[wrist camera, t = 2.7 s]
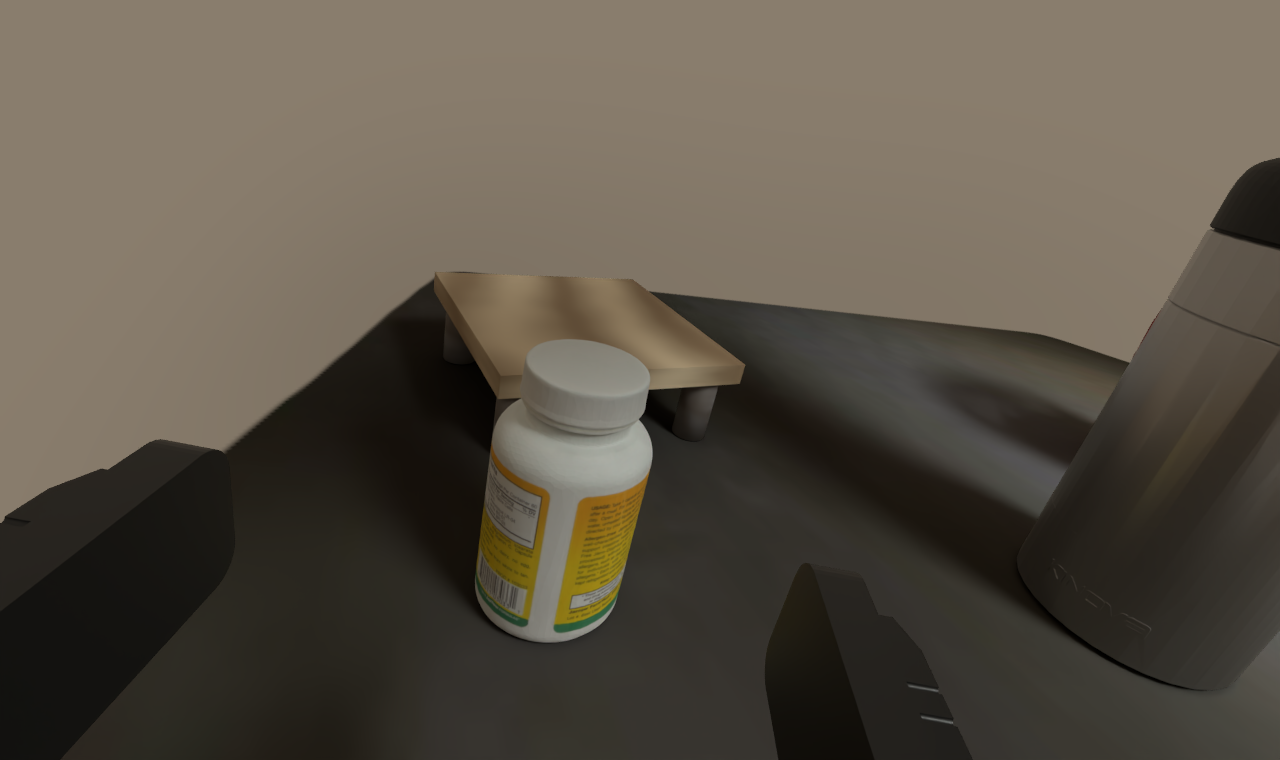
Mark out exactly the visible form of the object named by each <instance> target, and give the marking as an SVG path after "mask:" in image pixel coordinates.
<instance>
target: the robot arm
mask: <svg viewBox="0 0 1280 760" xmlns="http://www.w3.org/2000/svg"><path fill="white" fill-rule="evenodd" d="M1210 226H1211V227H1212V228H1215V229H1214V230H1212V229H1210V230H1208V231H1207V232H1206V234H1205V235H1204V237H1203V239H1202V240H1201V242H1200V244H1199V245H1198V247H1197V249H1196V251H1195V252H1194V254H1193V256H1192V257H1191V259H1190V261H1189V263H1188V264H1187V266H1186V268H1185V269H1184V271H1183V273H1182V274H1181V276H1180V278H1179V280H1178V281H1177V283H1176V285H1175V286H1174V288H1173V290H1172V292H1171V293H1170V295H1169V297H1168V299H1167V301H1166V302H1165V304H1164V306H1163V308H1162V309H1161V311H1160V313H1159V314H1158V316H1157V318H1156V319H1155V321H1154V323H1153V325H1152V326H1151V328H1150V330H1149V331H1148V333H1147V335H1146V336H1145V338H1144V340H1143V342H1142V343H1141V345H1140V347H1139V348H1138V350H1137V352H1136V353H1135V355H1134V357H1133V358H1132V360H1131V362H1130V364H1129V365H1128V367H1127V369H1126V370H1125V372H1124V374H1123V375H1122V377H1121V379H1120V381H1119V382H1118V384H1117V386H1116V387H1115V389H1114V391H1113V392H1112V394H1111V396H1110V398H1109V399H1108V401H1107V403H1106V404H1105V406H1104V408H1103V409H1102V411H1101V413H1100V414H1099V416H1098V418H1097V420H1096V421H1095V423H1094V425H1093V426H1092V428H1091V430H1090V431H1089V433H1088V435H1087V437H1086V438H1085V440H1084V442H1083V443H1082V445H1081V447H1080V448H1079V450H1078V452H1077V454H1076V455H1075V457H1074V459H1073V460H1072V462H1071V464H1070V465H1069V467H1068V469H1067V470H1066V472H1065V474H1064V476H1063V477H1062V479H1061V481H1060V482H1059V484H1058V486H1057V487H1056V489H1055V490H1054V492H1053V494H1052V495H1051V497H1050V499H1049V501H1048V502H1047V504H1046V506H1045V507H1044V509H1043V511H1042V512H1041V514H1040V516H1039V518H1038V519H1037V521H1036V523H1035V524H1034V526H1033V528H1032V530H1031V531H1030V533H1029V535H1028V536H1027V538H1026V540H1025V541H1024V543H1023V545H1022V547H1021V548H1020V550H1019V553H1018V556H1017V566H1018V570H1019V573H1020V575H1021V577H1022V579H1023V581H1024V583H1025V584H1026V586H1027V587H1028V588H1029V590H1030V591H1031V593H1032V594H1033V595H1034V597H1035V598H1036V599H1037V600H1038V601H1039V602H1040V603H1041V604H1042V605H1043V606H1044V607H1045V608H1046V609H1047V610H1048V611H1049V613H1051V614H1052V615H1053V616H1054V617H1055V618H1056V619H1058V620H1059V621H1060V622H1061V623H1062V624H1063V625H1065V626H1066V627H1067V628H1068V629H1069V630H1071V631H1072V632H1074V633H1075V634H1076V635H1078V636H1079V637H1081V638H1082V639H1083V640H1085V641H1086V642H1088V643H1089V644H1090V645H1092V646H1093V647H1095V648H1097V649H1098V650H1100V651H1102V652H1103V653H1105V654H1107V655H1108V656H1110V657H1112V658H1113V659H1115V660H1117V661H1119V662H1121V663H1123V664H1125V665H1127V666H1129V667H1131V668H1133V669H1135V670H1137V671H1139V672H1141V673H1143V674H1146V675H1149V676H1151V677H1154V678H1157V679H1159V680H1162V681H1164V682H1167V683H1170V684H1174V685H1178V686H1182V687H1186V688H1190V689H1198V690H1210V691H1213V690H1218V689H1223V688H1227V687H1228V686H1230V685H1231V684H1232V683H1233V682H1235V681H1236V680H1237V679H1238V677H1239V676H1240V675H1241V674H1242V673H1243V672H1244V671H1245V669H1246V668H1247V667H1248V666H1249V665H1250V664H1251V663H1252V661H1253V660H1254V659H1255V658H1256V657H1257V656H1258V655H1259V653H1260V652H1261V651H1262V650H1263V649H1264V648H1265V647H1266V645H1267V644H1268V643H1269V642H1270V641H1271V640H1272V639H1273V638H1274V636H1275V635H1276V634H1277V633H1278V632H1279V631H1280V158H1276V159H1272V160H1268V161H1264V162H1261V163H1259V164H1256V165H1255V166H1253V167H1251V168H1250V169H1248V170H1247V171H1246V172H1245V173H1244V174H1243V175H1242V176H1241V177H1240V178H1239V180H1237V182H1236V183H1235V185H1234V186H1233V188H1232V189H1231V191H1230V192H1229V194H1228V195H1227V197H1226V199H1225V200H1224V202H1223V204H1222V205H1221V207H1220V209H1219V211H1218V212H1217V214H1216V216H1215V217H1214V219H1213V221H1212V223H1211V224H1210ZM234 548H235V532H234V519H233V506H232V493H231V480H230V468H229V462H228V459H227V457H226V455H225V454H224V453H223V452H222V451H219V450H215V449H210V448H204V447H199V446H193V445H188V444H183V443H178V442H172V441H167V440H161V439H160V440H155V441H152V442H149V443H148V444H146V445H144V446H143V447H141V448H140V449H139V450H137V451H136V452H134V453H132V454H131V455H129V456H128V457H126V458H125V459H123V460H122V461H121V462H119V463H118V464H116V465H114V466H113V467H111V468H110V469H108V470H105V469H99V470H97V471H94V472H91V473H89V474H86V475H84V476H81V477H78V478H76V479H73V480H70V481H68V482H65V483H62V484H60V485H57V486H54V487H52V488H49V489H47V490H46V491H44V492H43V493H41V494H39V495H38V496H36V497H35V498H33V499H32V500H30V501H28V502H27V503H25V504H24V505H22V506H21V507H19V508H17V509H16V510H14V511H13V512H11V513H10V514H8V515H7V516H5V519H4V521H3V522H2V523H0V760H60V759H61V758H62V757H63V756H64V755H65V754H66V752H67V751H68V750H69V749H70V748H71V747H72V746H73V745H74V744H75V743H76V741H77V740H78V739H79V738H80V737H81V736H82V735H83V734H84V733H85V732H86V731H87V729H88V728H89V727H90V726H91V725H92V724H93V723H94V722H95V721H96V720H97V718H98V717H99V716H100V715H101V714H102V713H103V712H104V711H105V710H106V709H107V707H108V706H109V705H110V704H111V703H112V702H113V701H114V700H115V699H116V698H117V696H118V695H119V694H120V693H121V692H122V691H123V690H124V689H125V688H126V687H127V685H128V684H129V683H130V682H131V681H132V680H133V679H134V678H135V677H136V676H137V674H138V673H139V672H140V671H141V670H142V669H143V668H144V667H145V666H146V665H147V664H148V662H149V661H150V660H151V659H152V658H153V657H154V656H155V655H156V654H157V653H158V651H159V650H160V649H161V648H162V647H163V646H164V645H165V644H166V643H167V642H168V640H169V639H170V638H171V637H172V636H173V635H174V634H175V633H176V632H177V631H178V629H179V628H180V627H181V626H182V625H183V624H184V623H185V622H186V621H187V620H188V618H189V617H190V616H191V615H192V614H193V613H194V612H195V611H196V610H197V609H198V607H199V606H200V605H201V604H202V603H203V602H204V601H205V600H206V599H207V598H208V597H209V595H210V594H211V593H212V592H213V591H214V590H215V589H216V588H217V586H218V585H219V584H220V582H221V581H222V579H223V578H224V576H225V574H226V572H227V570H228V568H229V566H230V563H231V560H232V557H233V553H234ZM765 685H766V691H767V697H768V703H769V708H770V714H771V720H772V726H773V731H774V737H775V743H776V748H777V754H778V760H973V759H972V757H971V755H970V753H969V751H968V748H967V746H966V744H965V742H964V740H963V738H962V736H961V734H960V731H959V729H958V727H955V726H953V717H952V714H951V712H950V710H949V708H948V706H947V704H946V702H945V700H944V697H943V695H941V694H939V693H938V688H939V687H938V685H937V682H936V680H935V678H934V676H933V674H932V672H931V670H930V668H929V665H928V663H927V661H926V659H925V657H924V655H923V653H922V651H921V649H920V648H919V647H918V646H917V645H916V644H915V643H914V641H913V640H912V639H911V638H910V637H909V636H908V634H907V633H906V632H905V631H904V630H903V629H902V628H901V626H900V625H899V624H898V623H897V622H896V621H895V620H894V618H893V617H887V616H882V615H878V613H877V610H876V608H875V606H874V603H873V601H872V598H871V596H870V594H869V591H868V589H867V586H866V584H865V582H864V580H863V578H862V577H861V575H860V574H858V573H856V572H851V571H846V570H840V569H835V568H830V567H825V566H819V565H814V564H809V563H804V564H803V565H801V567H800V568H799V569H798V571H797V573H796V575H795V578H794V580H793V583H792V585H791V588H790V590H789V593H788V595H787V598H786V600H785V603H784V605H783V608H782V610H781V613H780V615H779V618H778V620H777V623H776V625H775V628H774V630H773V633H772V635H771V638H770V641H769V644H768V648H767V653H766V661H765Z"/></svg>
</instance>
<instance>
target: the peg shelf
mask: <svg viewBox="0 0 1280 760" xmlns="http://www.w3.org/2000/svg"><path fill="white" fill-rule="evenodd" d="M434 291H435V293H436V295H437V296H438V298H439V300H440V302H441V303H442V305H443V307H444V308H445V310H446V322H445V336H444V351H443V358H444V359H445V360H446V361H447V362H450V363H453V364H460V365H463V364H470V363H472V362H474V361H476V363H477V364H478V366H479V368H480V369H481V371H482V373H483V374H484V376H485V378H486V380H487V381H488V383H489V385H490V386H491V388H492V390H493V391H494V393H495V395H496V396H497V398H496V407H495V416H494V425H493V432H494V428H495V425H496V423H497V421H498V419H499V417H500V416H501V414H502V413H503V412H504V411H505V410H506V409H507V408H508V407H509V406H510V405H511V404H513V403H514V402H516V401H518V400H519V399H521V392H520V384H521V381H522V375H523V369H524V364H525V358H526V355H527V353H528V352H529V351H530V350H531V349H532V348H533V347H535V346H536V345H538V344H541V343H544V342H547V341H552V340H561V339H578V340H588V341H594V342H599V343H603V344H606V345H609V346H613V347H615V348H618V349H621V350H623V351H625V352H627V353H629V354H631V355H633V356H634V357H636V358H637V359H638V360H640V361H641V362H642V363H643V364H644V365H645V367H646V368H647V369H648V371H649V374H650V385H649V390H651V389H667V388H682V390H681V394H680V398H679V402H678V406H677V410H676V414H675V418H674V422H673V426H672V431H673V433H674V434H675V435H676V436H678V437H679V438H682V439H684V440H688V441H700V440H702V439H703V438H704V436H705V432H706V429H707V425H708V421H709V418H710V414H711V411H712V407H713V404H714V400H715V396H716V393H717V389H718V386H719V385H730V384H740V381H741V378H742V374H743V371H744V368H745V364H743V363H742V362H741V361H739V360H738V359H737V358H735V357H734V356H733V355H731V354H730V353H729V352H727V351H726V350H725V349H724V348H722V347H721V346H720V345H718V344H717V343H716V342H714V341H713V340H712V339H710V338H709V337H708V336H706V335H705V334H704V333H702V332H701V331H700V330H699V329H697V328H696V327H695V326H693V325H692V324H691V323H689V322H688V321H687V320H685V319H684V318H683V317H681V316H680V315H679V314H677V313H676V312H675V311H673V310H672V309H671V308H670V307H668V306H667V305H666V304H664V303H663V302H662V301H660V300H659V299H658V298H656V297H655V296H654V295H652V294H651V293H650V292H648V291H647V290H646V289H645V288H643V287H642V286H641V285H639V284H638V283H637V282H635V281H634V280H631V279H605V278H579V277H553V276H552V277H551V276H525V275H500V274H473V273H447V272H435V281H434ZM492 437H493V434H492ZM491 444H492V443H491Z"/></svg>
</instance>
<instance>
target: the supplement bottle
mask: <svg viewBox="0 0 1280 760" xmlns="http://www.w3.org/2000/svg"><path fill="white" fill-rule="evenodd" d="M649 385H650V374H649V371H648V369H647V368H646V367H645V365H644V364H643V363H642V362H641V361H640V360H638V359H637V358H636V357H634V356H633V355H631V354H629V353H627V352H625V351H623V350H621V349H618V348H615V347H613V346H609V345H606V344H603V343H599V342H594V341H588V340H578V339H561V340H552V341H547V342H544V343H541V344H538V345H536V346H535V347H533V348H532V349H531V350H530V351H529V352H528V353H527V355H526V358H525V364H524V369H523V375H522V381H521V384H520V392H521V399H519V400H518V401H516V402H514V403H513V404H511V405H510V406H509V407H508V408H507V409H506V410H505V411H504V412H503V413H502V414H501V416H500V417H499V419H498V421H497V423H496V425H495V428H494V432H493V437H492V444H491V452H490V460H489V468H488V477H487V484H486V492H485V501H484V508H483V516H482V524H481V533H480V540H479V549H478V557H477V565H476V575H475V589H476V595H477V598H478V601H479V603H480V605H481V607H482V609H483V611H484V613H485V614H486V615H487V616H488V618H489V619H490V620H491V621H492V622H493V623H494V624H496V625H497V626H498V627H500V628H501V629H503V630H504V631H506V632H507V633H509V634H511V635H513V636H516V637H519V638H521V639H525V640H529V641H534V642H543V643H554V642H563V641H568V640H571V639H575V638H577V637H579V636H581V635H584V634H586V633H588V632H590V631H592V630H593V629H595V628H596V627H598V626H599V625H600V624H601V623H602V622H603V621H604V620H605V619H606V618H607V617H608V615H609V614H610V612H611V611H612V609H613V607H614V605H615V602H616V599H617V596H618V591H619V588H620V584H621V580H622V576H623V572H624V569H625V564H626V560H627V556H628V552H629V548H630V544H631V540H632V536H633V532H634V529H635V525H636V521H637V517H638V513H639V509H640V506H641V502H642V498H643V495H644V491H645V487H646V483H647V479H648V475H649V471H650V467H651V462H652V444H651V440H650V437H649V435H648V432H647V430H646V429H645V427H644V425H643V424H642V423H641V422H640V420H639V418H640V417H641V416H642V415H643V413H644V411H645V407H646V400H647V395H648V390H649Z"/></svg>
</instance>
